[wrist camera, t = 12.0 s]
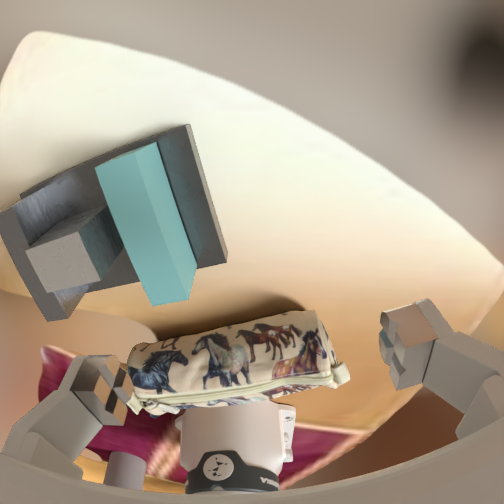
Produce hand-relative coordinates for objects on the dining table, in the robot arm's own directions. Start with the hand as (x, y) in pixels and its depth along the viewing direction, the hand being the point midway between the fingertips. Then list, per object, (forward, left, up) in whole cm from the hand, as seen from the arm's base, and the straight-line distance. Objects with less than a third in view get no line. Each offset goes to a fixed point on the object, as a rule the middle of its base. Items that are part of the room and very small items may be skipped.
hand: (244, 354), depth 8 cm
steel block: (0, +14, -17) cm, 22 cm away
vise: (0, +12, -19) cm, 23 cm away
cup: (-50, +39, -19) cm, 66 cm away
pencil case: (-17, +5, -20) cm, 26 cm away
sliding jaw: (0, +7, -17) cm, 18 cm away
